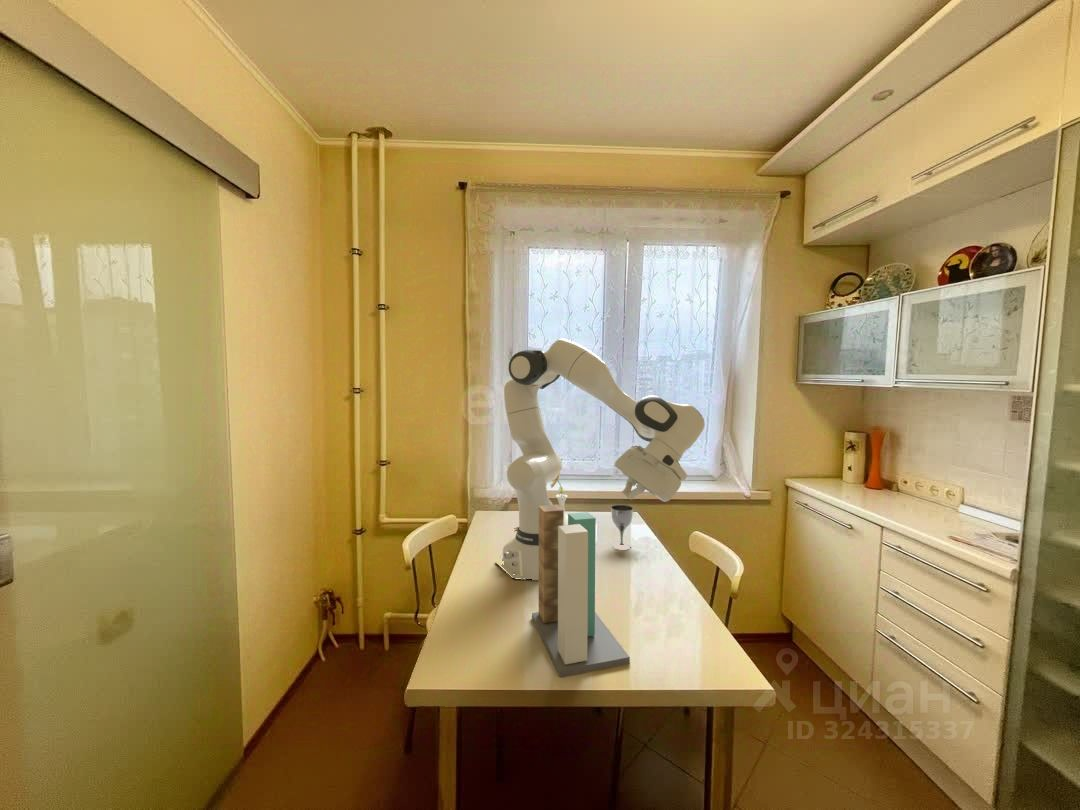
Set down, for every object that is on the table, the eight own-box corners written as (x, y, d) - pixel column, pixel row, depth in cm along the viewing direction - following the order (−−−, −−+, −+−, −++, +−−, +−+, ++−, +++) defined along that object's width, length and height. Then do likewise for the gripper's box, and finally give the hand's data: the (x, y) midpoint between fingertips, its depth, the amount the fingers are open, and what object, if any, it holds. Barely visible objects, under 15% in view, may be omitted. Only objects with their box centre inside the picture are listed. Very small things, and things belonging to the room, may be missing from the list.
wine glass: (636, 548, 158) (637, 508, 157) (620, 552, 154) (620, 511, 153) (622, 541, 165) (623, 503, 164) (606, 545, 161) (606, 506, 160)
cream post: (578, 646, 95) (579, 524, 94) (587, 660, 90) (588, 531, 89) (557, 650, 94) (558, 526, 93) (565, 664, 89) (565, 533, 88)
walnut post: (557, 610, 111) (557, 504, 109) (563, 620, 106) (563, 510, 105) (538, 613, 109) (538, 506, 108) (544, 623, 104) (544, 511, 103)
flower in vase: (553, 522, 188) (553, 466, 187) (578, 525, 184) (578, 468, 183) (543, 531, 176) (543, 471, 175) (569, 535, 172) (569, 474, 171)
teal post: (586, 623, 104) (587, 511, 103) (594, 635, 99) (595, 518, 98) (567, 627, 103) (568, 513, 102) (574, 638, 98) (575, 519, 97)
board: (589, 609, 114) (589, 604, 114) (629, 663, 92) (629, 657, 92) (532, 618, 110) (532, 613, 110) (559, 677, 88) (559, 670, 88)
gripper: (629, 437, 121) (598, 473, 120) (681, 465, 103) (645, 509, 102) (640, 449, 124) (609, 485, 123) (692, 479, 107) (657, 521, 105)
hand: (626, 496), depth 112 cm, fingers closed
